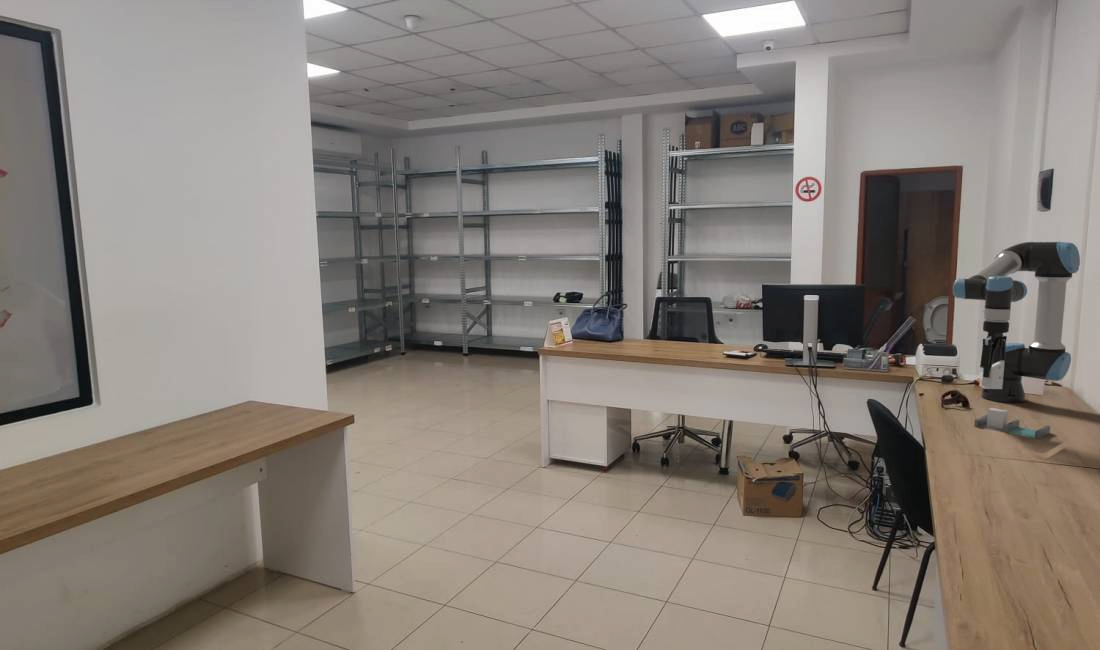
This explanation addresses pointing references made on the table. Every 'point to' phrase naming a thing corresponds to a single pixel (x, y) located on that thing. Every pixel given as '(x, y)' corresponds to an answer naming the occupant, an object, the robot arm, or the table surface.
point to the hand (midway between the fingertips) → (991, 384)
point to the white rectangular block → (997, 418)
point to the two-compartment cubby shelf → (1014, 428)
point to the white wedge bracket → (996, 376)
